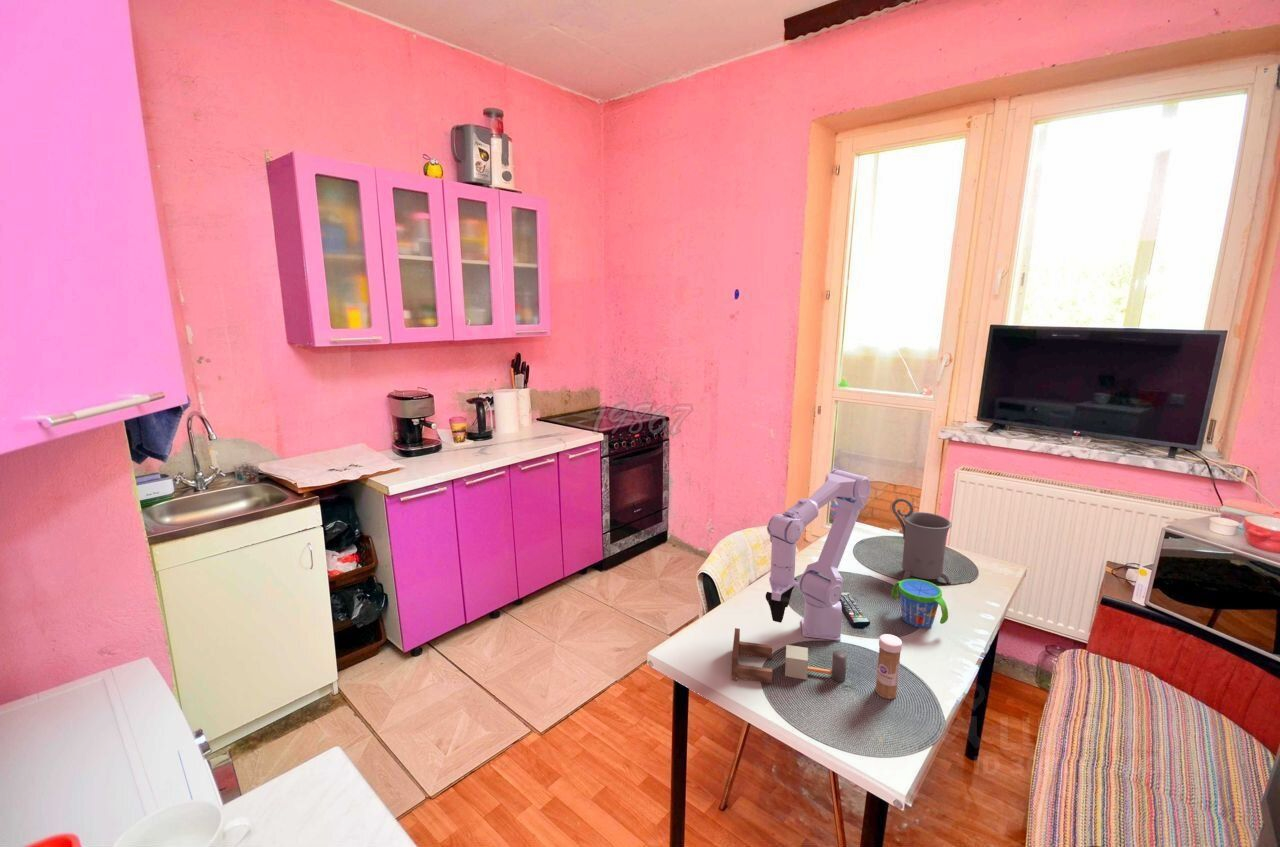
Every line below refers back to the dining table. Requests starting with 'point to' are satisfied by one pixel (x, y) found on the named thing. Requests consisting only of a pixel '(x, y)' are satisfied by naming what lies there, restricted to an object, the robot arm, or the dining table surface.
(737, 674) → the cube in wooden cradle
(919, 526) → the mug
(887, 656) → the sprinkles bottle
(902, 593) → the snack cup
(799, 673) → the multicoloured piece
